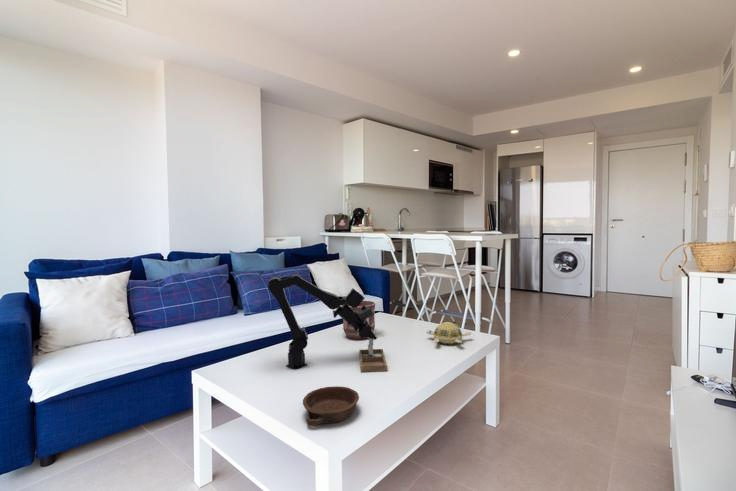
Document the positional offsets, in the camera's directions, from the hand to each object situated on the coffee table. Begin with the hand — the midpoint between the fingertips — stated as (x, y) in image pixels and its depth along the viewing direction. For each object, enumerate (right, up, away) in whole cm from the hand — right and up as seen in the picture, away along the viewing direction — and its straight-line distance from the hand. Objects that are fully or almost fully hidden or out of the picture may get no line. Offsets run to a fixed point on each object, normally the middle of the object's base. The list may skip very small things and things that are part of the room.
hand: (375, 338), depth 163 cm
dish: (-15, -12, -47) cm, 50 cm away
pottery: (-8, -8, +35) cm, 36 cm away
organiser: (-1, -9, -5) cm, 11 cm away
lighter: (-2, -7, 0) cm, 8 cm away
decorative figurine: (+36, -8, +22) cm, 43 cm away
